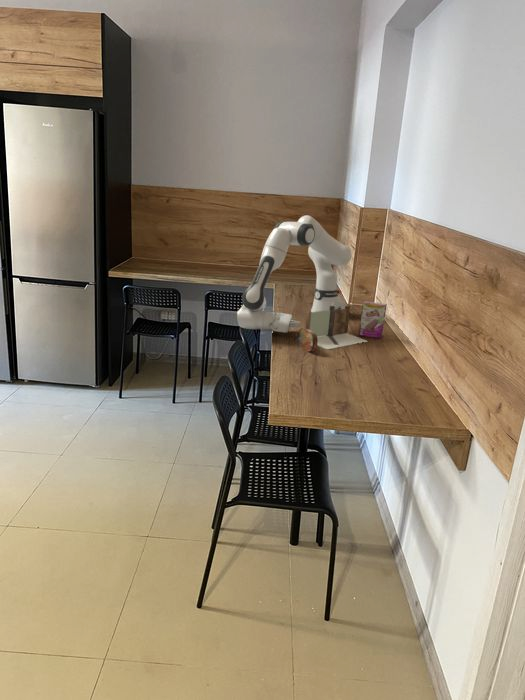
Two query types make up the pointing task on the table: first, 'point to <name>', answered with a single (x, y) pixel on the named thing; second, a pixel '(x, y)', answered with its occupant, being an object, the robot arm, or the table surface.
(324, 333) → the fence panel
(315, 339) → the tin
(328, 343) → the card
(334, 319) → the fence
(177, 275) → the table surface
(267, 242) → the robot arm
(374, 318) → the candy bar box
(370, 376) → the table surface
